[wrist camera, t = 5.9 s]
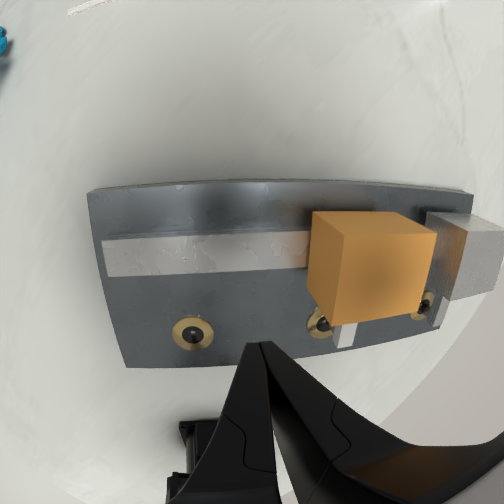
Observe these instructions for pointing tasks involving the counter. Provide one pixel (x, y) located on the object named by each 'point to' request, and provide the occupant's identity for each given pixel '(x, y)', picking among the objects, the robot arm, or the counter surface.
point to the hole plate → (262, 264)
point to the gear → (2, 41)
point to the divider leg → (366, 267)
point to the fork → (86, 6)
